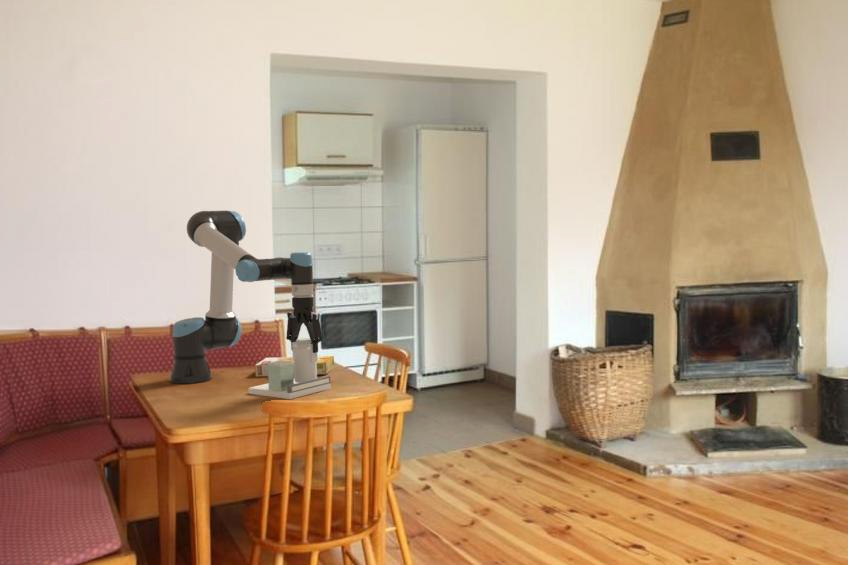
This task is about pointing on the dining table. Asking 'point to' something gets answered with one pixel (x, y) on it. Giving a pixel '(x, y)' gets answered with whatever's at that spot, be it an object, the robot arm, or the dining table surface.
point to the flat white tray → (294, 389)
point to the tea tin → (280, 375)
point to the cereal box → (322, 364)
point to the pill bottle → (303, 362)
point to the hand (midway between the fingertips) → (305, 360)
